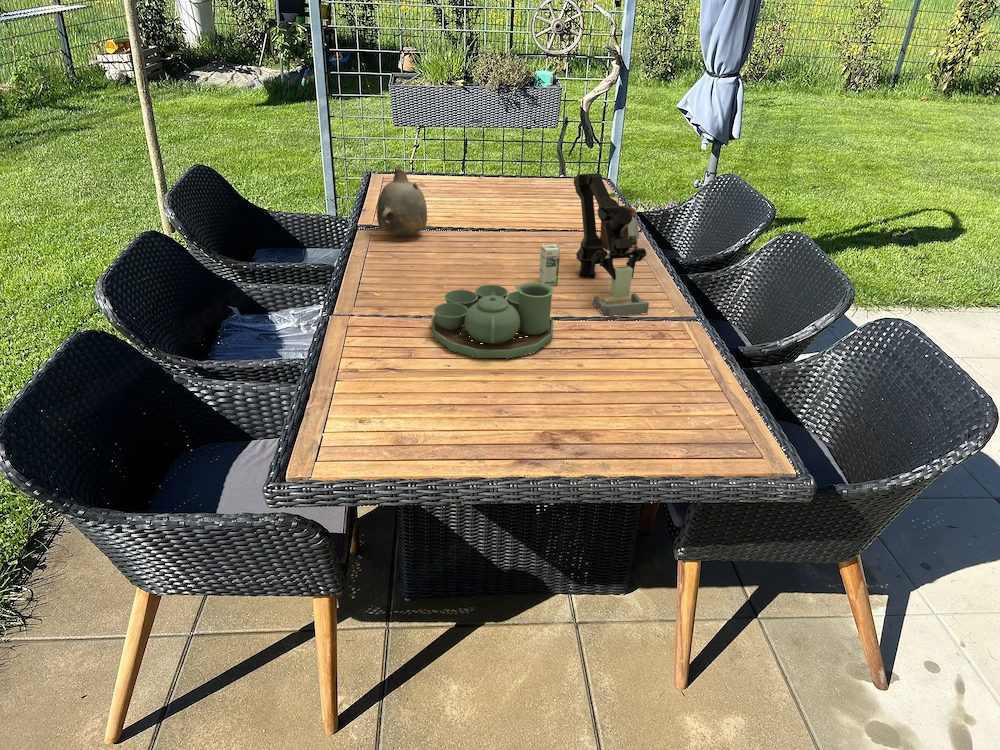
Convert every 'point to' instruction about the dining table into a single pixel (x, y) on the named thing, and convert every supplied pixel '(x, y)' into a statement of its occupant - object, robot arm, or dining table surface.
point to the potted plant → (629, 230)
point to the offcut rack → (621, 305)
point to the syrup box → (549, 264)
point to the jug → (401, 206)
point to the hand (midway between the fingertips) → (623, 279)
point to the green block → (621, 281)
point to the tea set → (495, 320)
